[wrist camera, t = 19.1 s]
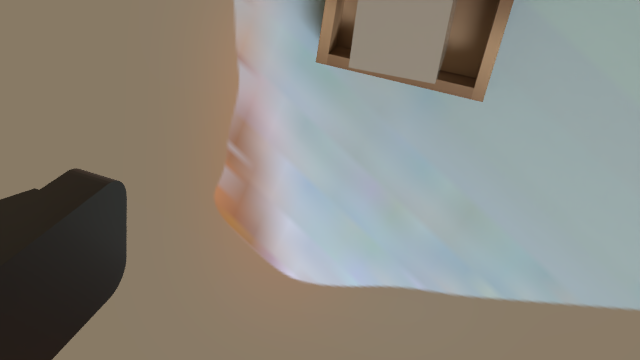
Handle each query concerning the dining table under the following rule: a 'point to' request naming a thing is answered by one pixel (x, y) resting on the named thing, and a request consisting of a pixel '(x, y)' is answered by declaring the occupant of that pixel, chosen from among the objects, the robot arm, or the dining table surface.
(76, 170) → the robot arm
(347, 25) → the bin
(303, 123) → the dining table surface
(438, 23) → the beige grey block
